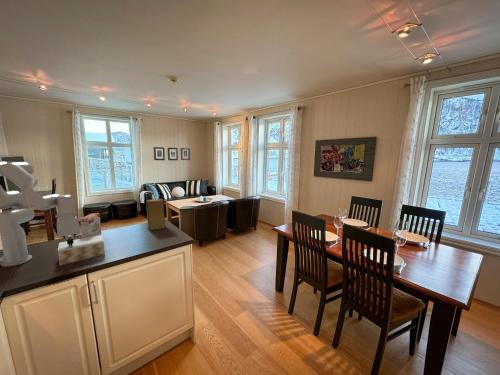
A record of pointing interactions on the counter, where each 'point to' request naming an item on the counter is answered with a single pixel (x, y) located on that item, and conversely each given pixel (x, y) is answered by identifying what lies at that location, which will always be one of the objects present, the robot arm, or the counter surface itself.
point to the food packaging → (155, 214)
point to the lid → (81, 243)
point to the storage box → (81, 253)
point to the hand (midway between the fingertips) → (70, 244)
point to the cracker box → (90, 225)
